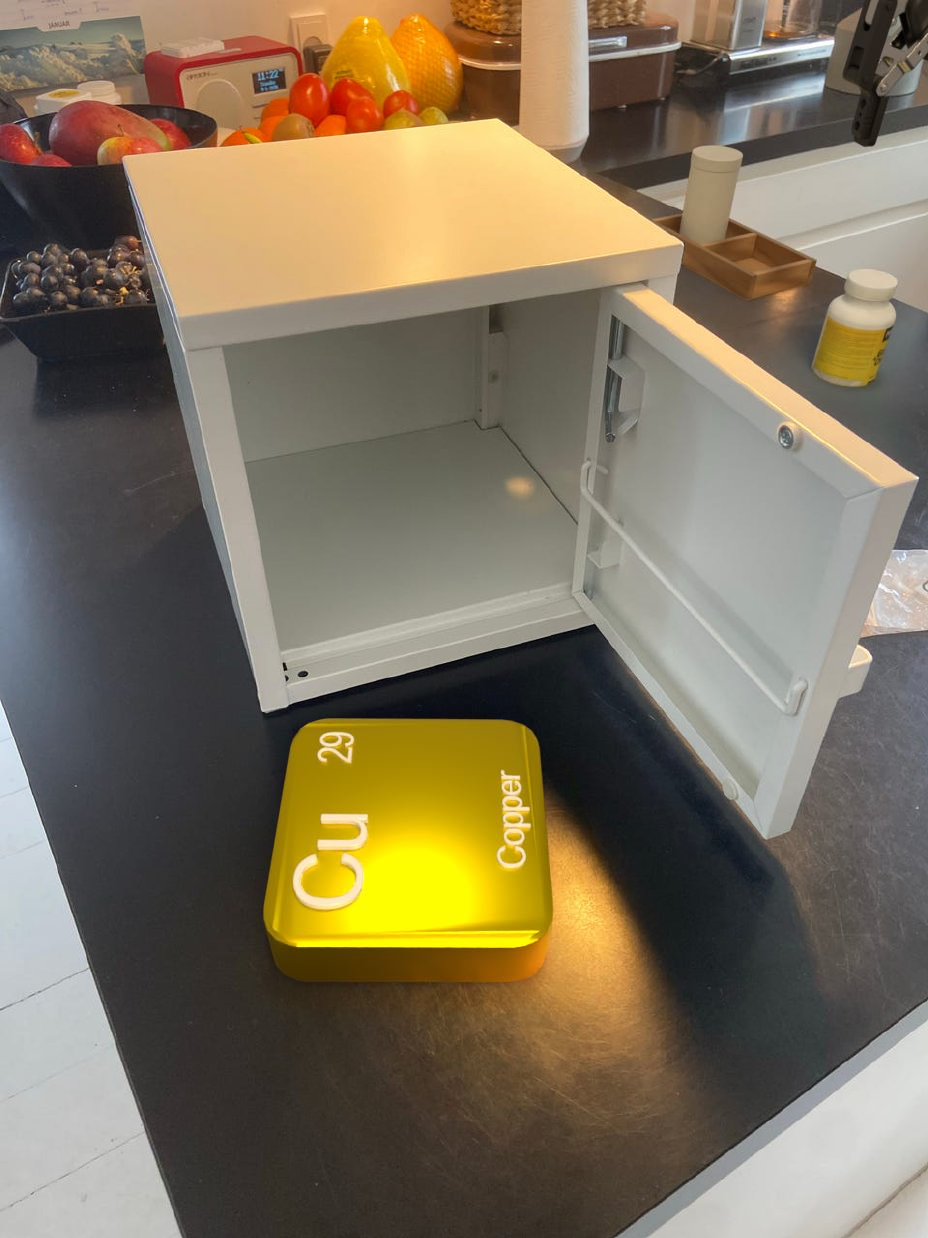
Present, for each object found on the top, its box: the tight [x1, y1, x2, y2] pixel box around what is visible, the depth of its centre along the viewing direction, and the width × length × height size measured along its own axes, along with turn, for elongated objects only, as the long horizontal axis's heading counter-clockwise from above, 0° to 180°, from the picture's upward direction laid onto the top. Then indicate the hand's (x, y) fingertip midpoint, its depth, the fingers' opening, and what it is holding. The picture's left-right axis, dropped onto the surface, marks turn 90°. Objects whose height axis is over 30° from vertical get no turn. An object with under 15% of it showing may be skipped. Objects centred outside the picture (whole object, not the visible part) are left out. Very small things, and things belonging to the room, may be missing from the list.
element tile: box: [262, 718, 554, 983], centre depth 52 cm, size 15×15×5 cm
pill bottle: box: [810, 268, 899, 388], centre depth 93 cm, size 6×6×12 cm
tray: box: [650, 212, 818, 301], centre depth 118 cm, size 11×20×4 cm, turn 29°
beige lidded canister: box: [679, 145, 744, 245], centre depth 118 cm, size 6×6×12 cm
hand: (909, 141), depth 76 cm, fingers open, 8 cm apart
